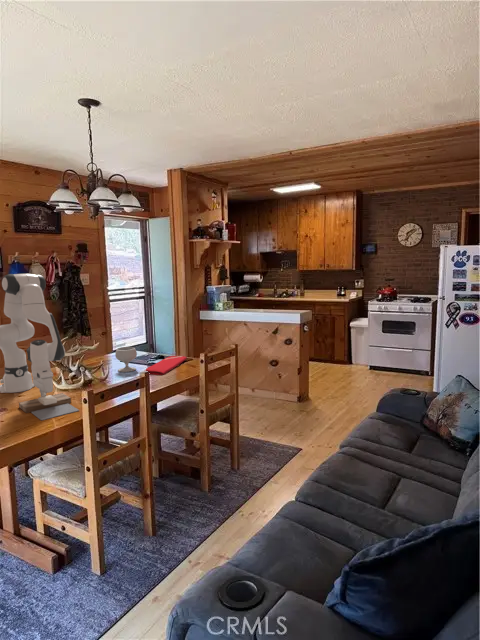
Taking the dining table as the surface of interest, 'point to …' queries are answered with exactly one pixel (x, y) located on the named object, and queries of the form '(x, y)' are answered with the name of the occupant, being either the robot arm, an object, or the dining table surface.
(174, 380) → the dining table surface
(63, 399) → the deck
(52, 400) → the tile
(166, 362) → the dish drying mat
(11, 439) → the dining table surface
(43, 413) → the mat
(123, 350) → the chalice
